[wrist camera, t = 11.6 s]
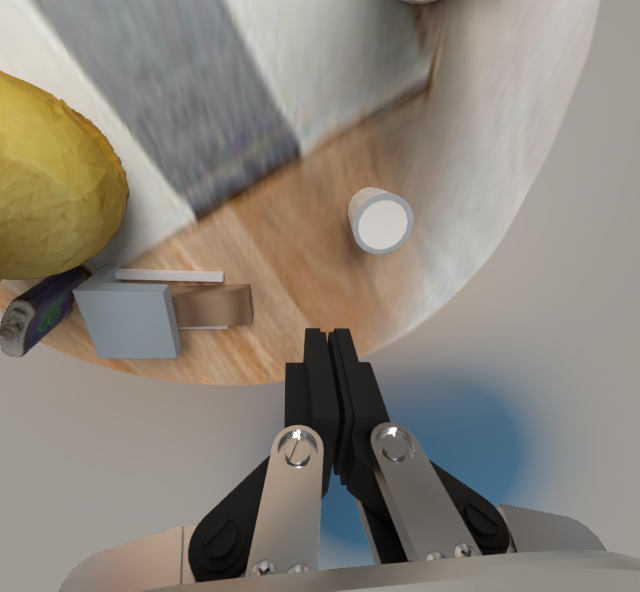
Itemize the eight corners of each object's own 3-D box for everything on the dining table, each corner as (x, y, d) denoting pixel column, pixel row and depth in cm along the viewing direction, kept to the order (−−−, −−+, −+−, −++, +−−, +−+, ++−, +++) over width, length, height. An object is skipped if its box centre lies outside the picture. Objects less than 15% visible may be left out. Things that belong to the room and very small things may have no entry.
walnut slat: (250, 283, 42) (247, 294, 40) (253, 312, 45) (251, 324, 42) (125, 287, 41) (114, 298, 38) (136, 317, 43) (126, 329, 41)
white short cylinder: (395, 230, 40) (414, 249, 34) (345, 239, 40) (355, 259, 34) (394, 177, 36) (414, 187, 30) (339, 187, 36) (349, 199, 30)
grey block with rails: (223, 268, 40) (212, 293, 34) (229, 327, 45) (220, 358, 39) (105, 264, 39) (72, 290, 33) (125, 326, 44) (99, 358, 38)
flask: (70, 318, 42) (9, 372, 33) (46, 309, 41) (-24, 363, 32) (87, 268, 39) (24, 313, 29) (62, 257, 38) (-11, 300, 28)
